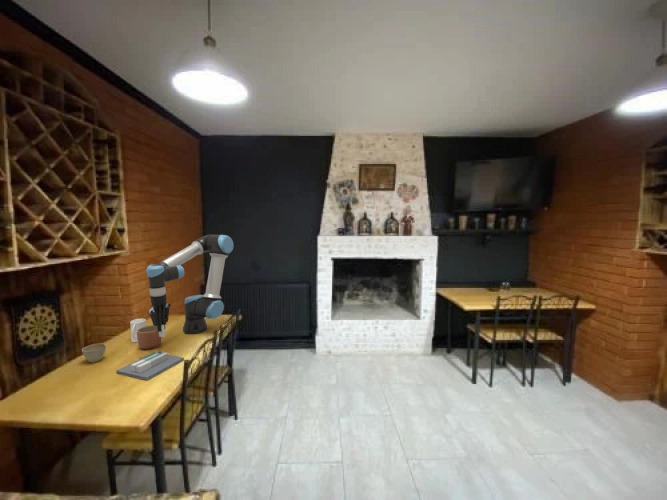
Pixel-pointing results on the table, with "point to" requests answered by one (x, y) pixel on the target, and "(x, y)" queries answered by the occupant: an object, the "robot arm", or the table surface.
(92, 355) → the grey bowl
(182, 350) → the table surface
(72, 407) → the table surface
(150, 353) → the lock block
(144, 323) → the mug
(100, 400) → the table surface
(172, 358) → the board
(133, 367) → the tong arm
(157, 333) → the planter
